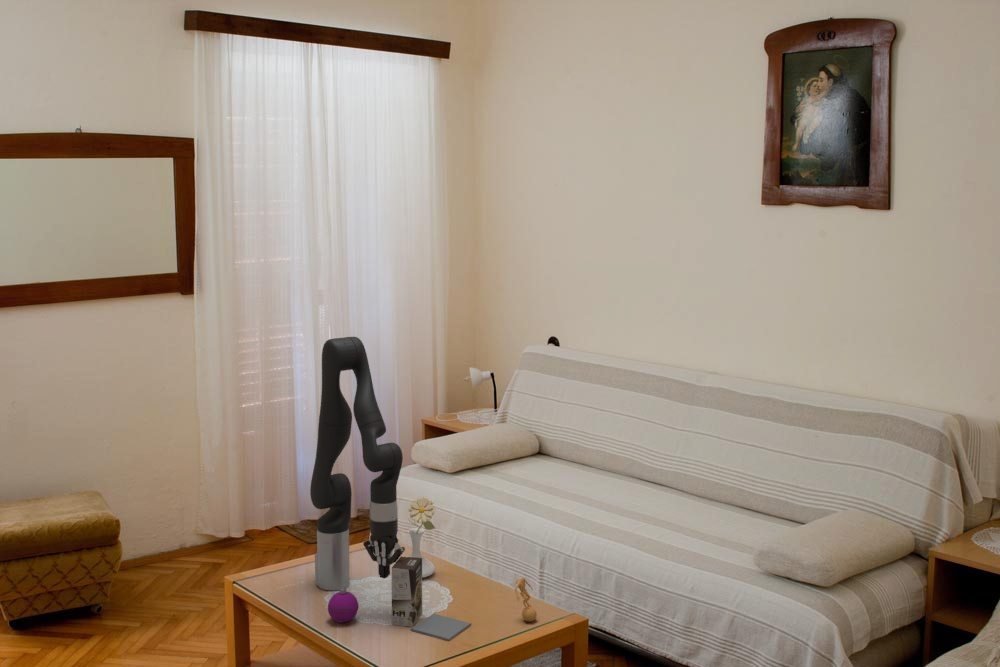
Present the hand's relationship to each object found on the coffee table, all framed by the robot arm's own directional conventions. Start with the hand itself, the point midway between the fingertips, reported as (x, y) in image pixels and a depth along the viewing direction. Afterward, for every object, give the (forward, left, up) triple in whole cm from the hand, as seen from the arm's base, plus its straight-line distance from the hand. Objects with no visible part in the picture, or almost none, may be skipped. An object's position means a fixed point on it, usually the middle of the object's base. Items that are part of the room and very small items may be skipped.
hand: (384, 577), depth 275 cm
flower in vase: (-8, +27, -11) cm, 30 cm away
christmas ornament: (-7, -10, -11) cm, 16 cm away
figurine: (+35, +16, -11) cm, 40 cm away
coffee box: (+7, 0, -11) cm, 13 cm away
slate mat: (+18, 0, -10) cm, 21 cm away
